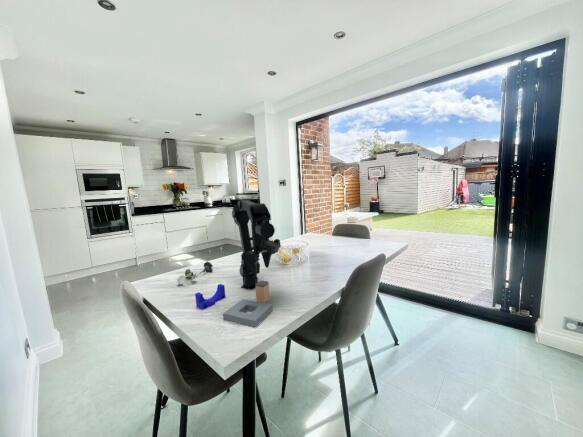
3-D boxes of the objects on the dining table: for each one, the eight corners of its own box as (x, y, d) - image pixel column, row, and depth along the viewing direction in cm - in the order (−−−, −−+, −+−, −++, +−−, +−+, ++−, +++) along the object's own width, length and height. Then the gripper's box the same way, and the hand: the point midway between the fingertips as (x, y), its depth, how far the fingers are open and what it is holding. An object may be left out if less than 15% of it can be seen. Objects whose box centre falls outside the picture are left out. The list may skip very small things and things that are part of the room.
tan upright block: (256, 302, 101) (255, 283, 100) (261, 297, 104) (260, 280, 103) (264, 303, 99) (263, 285, 98) (269, 299, 103) (268, 281, 102)
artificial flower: (216, 274, 140) (217, 259, 137) (186, 295, 121) (186, 278, 117) (204, 269, 143) (205, 254, 140) (173, 288, 124) (173, 271, 120)
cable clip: (202, 310, 96) (201, 296, 95) (196, 307, 99) (195, 293, 98) (227, 299, 105) (226, 286, 104) (221, 296, 108) (220, 283, 107)
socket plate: (223, 319, 88) (222, 313, 88) (243, 304, 99) (242, 299, 98) (255, 327, 82) (255, 320, 82) (272, 310, 93) (272, 304, 93)
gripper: (264, 240, 86) (266, 281, 88) (286, 230, 103) (288, 265, 105) (238, 238, 91) (241, 278, 93) (264, 230, 108) (266, 263, 110)
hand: (261, 271), depth 100 cm, fingers open, 9 cm apart
